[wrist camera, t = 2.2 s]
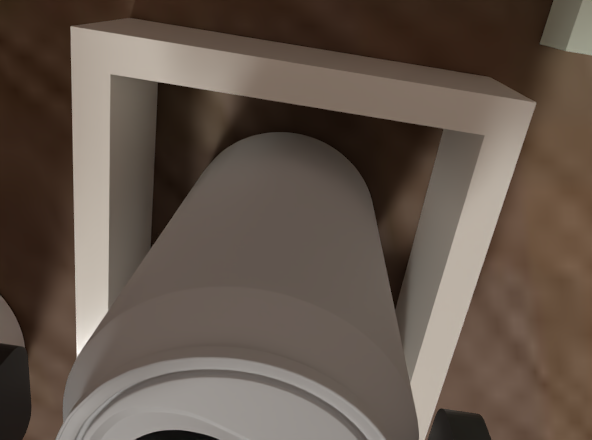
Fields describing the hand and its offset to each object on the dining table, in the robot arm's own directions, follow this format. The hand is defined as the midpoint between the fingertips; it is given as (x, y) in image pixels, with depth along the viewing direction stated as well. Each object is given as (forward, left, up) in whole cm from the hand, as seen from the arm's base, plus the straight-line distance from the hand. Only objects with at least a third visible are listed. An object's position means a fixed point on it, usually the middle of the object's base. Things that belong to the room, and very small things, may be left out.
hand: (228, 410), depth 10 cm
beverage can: (0, 0, -10) cm, 10 cm away
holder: (0, 0, -10) cm, 10 cm away
